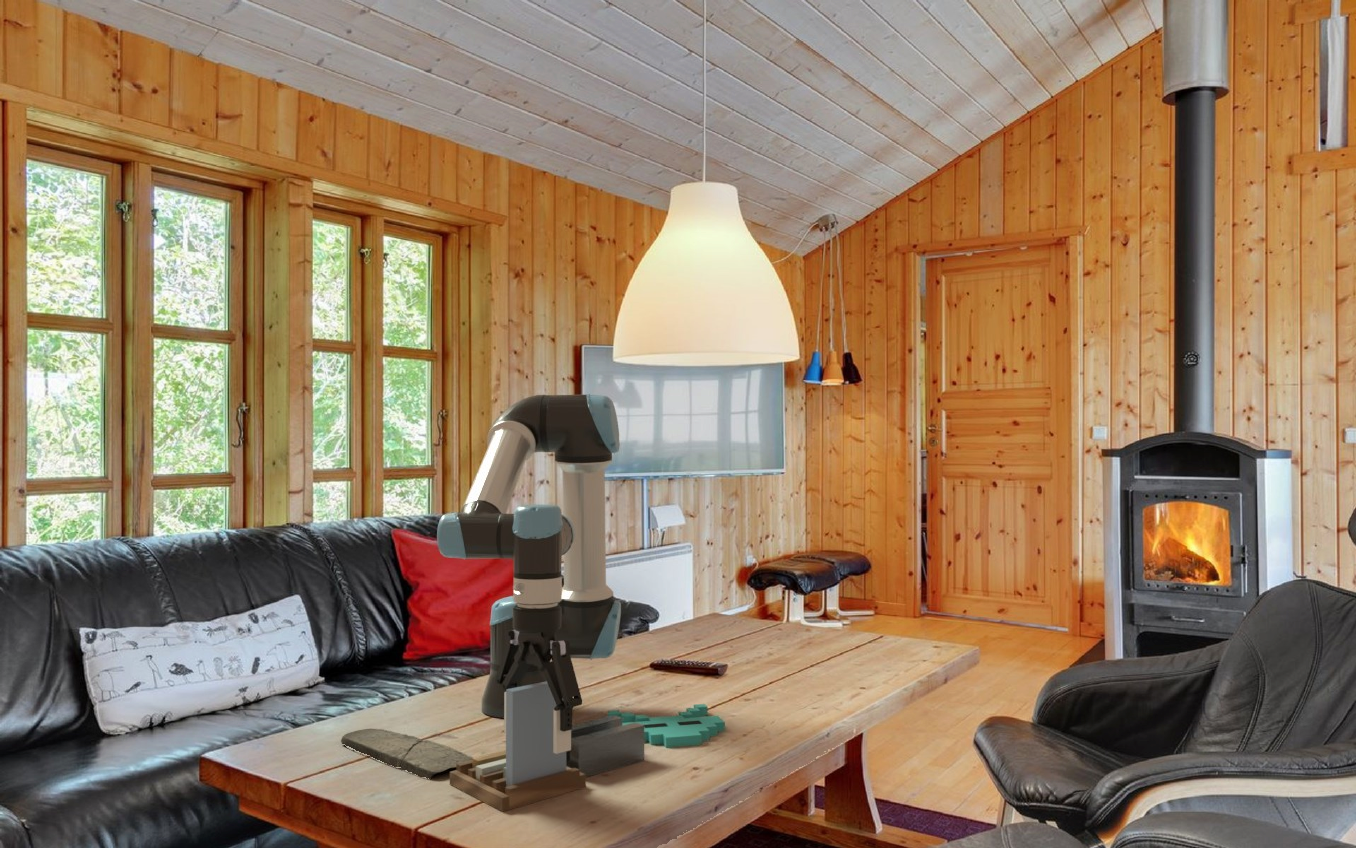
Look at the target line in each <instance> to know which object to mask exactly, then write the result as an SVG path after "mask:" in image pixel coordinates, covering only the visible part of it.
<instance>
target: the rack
mask: <svg viewBox="0 0 1356 848" xmlns="http://www.w3.org/2000/svg"><path fill="white" fill-rule="evenodd" d="M455 768H456V769H455V770H452V771H449V785H450V784H451V785H450V786H452V787H454V788H456V787H457V788H456V789H457V790H460V791H461V790H462V791H461V792H463V791H464V793H466V794H468V795H469V796H471V797H473V796H474V797H473V798H475V799H478V800H479V801H481V802H483V803H484V804H487V805H489V806H491V807H493V808H494V809H496V810H498V811H500V812H507V811H509V810H513V809H516V808H519V807H523V806H526V805H530V804H533V803H537V802H540V801H543V800H547V799H550V798H554V797H557V796H561V795H563V794H567V793H570V792H573V791H577V790H580V789H583V788H586V786H587V785H586V784H587V783H586V781H587V780H586V779H587V777H586V774H584V773H581V772H580V770H579V769H577V768H573V769H572V768H569V767H567V766H566V771H562V772H558V773H555V774H551V775H547V776H544V777H540V778H537V779H533V780H529V781H526V782H522V783H519V784H515V785H511V786H508V787H506V778H503V769H502V770H498V771H494V772H490V773H486V774H482V775H480V781H478V780H476V768H472V760H470V761H466V762H462V763H458V764H457V766H456V767H455Z"/></svg>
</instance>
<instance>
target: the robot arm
mask: <svg viewBox="0 0 1356 848" xmlns="http://www.w3.org/2000/svg"><path fill="white" fill-rule="evenodd" d="M614 404H615V403H614V402H613V401H612V399H611V398H610V397H609V396H607V395H601V394H600V395H599V394H591V393H588V394H548V395H547V394H535V395H531V396H527V397H525V398H522V399H521V400H519V401H517V402H515V403H513V404H512V405H510V406H509V407H507V408H506V409H505V410H503V412H502V413H501V414H500V415H498V417H497V418H495V420H494V422H492V425H491V426H490V429H489V431H488V433H487V437H486V445H487V448H486V451H485V453H484V456H483V458H482V460H481V463H480V466H479V467H478V470H477V472H476V475H475V477H474V479H473V482H472V484H471V486H470V489H469V491H468V492H467V493H468V494H466V498H465V499H464V502H463V504H462V508H461V510H460V512H458V511H455V512H452V513H445V514H443V515H442V516H441V517H440V518H439V522H438V524H437V529H436V531H437V532H436V542H437V547H438V551H439V552H440V554H441V555H442V556H443V557H445V558H449V559H451V558H452V559H462V560H466V559H467V560H469V559H470V560H472V559H473V560H479V559H480V560H481V559H483V560H484V559H489V560H490V559H491V560H493V559H505V560H507V559H509V560H511V559H512V561H513V563H512V564H513V575H512V576H513V586H512V590H513V591H512V592H513V595H510V596H507V597H502V598H500V599H498V600H496V601H495V602H494V603H493V604H492V605H491V612H490V621H489V626H490V668H489V669H490V672H489V676H488V678H487V682H486V685H485V688H484V692H483V695H482V698H481V711H482V713H483V714H485V715H487V716H490V717H494V718H500V719H501V718H503V722H504V723H503V725H504V726H503V728H504V729H503V731H504V732H503V733H504V734H505V735H506V689H511V688H516V687H521V686H526V685H531V684H536V683H541V682H546V681H547V683H548V686H549V688H550V690H551V693H552V695H553V698H554V700H555V702H556V705H557V706H556V707H555V708H554V730H553V753H556V754H558V753H561V752H565V751H569V750H571V730H572V725H573V709H574V708H575V707H577V706H581V705H582V704H583V699H582V695H581V692H580V691H581V690H580V686H579V684H578V680H577V676H576V671H575V668H574V665H573V662H572V659H580V660H582V659H585V660H587V659H588V660H590V661H591V660H593V659H607V658H610V657H611V656H612V655H613V654H614V653H615V650H616V646H617V641H618V635H619V630H620V623H621V614H622V603H621V602H620V601H618V600H616V599H615V600H614V591H613V590H612V589H611V588H610V587H609V586H608V585H607V573H606V572H607V563H606V557H607V556H606V488H605V487H606V486H605V484H606V478H605V470H606V469H607V467H608V466H609V465H610V464H611V462H612V461H613V454H615V453H618V452H619V450H620V447H621V446H620V429H619V422H618V417H617V412H616V408H615V405H614ZM534 453H554V463H555V464H557V466H558V467H560V469H561V470H562V508H561V507H560V506H558V505H555V504H525V505H524V504H523V505H522V504H521V505H519V506H517V507H515V509H514V512H513V513H507V512H508V508H509V506H510V503H511V501H512V499H513V496H514V493H515V491H516V487H517V485H518V482H519V479H520V476H521V474H522V471H523V468H524V465H525V463H526V461H528V460H530V458H531V457H532V456H533V455H534ZM562 556H563V557H562ZM562 558H563V559H562ZM562 560H563V576H562ZM562 577H563V579H562ZM562 580H563V581H562ZM562 582H563V583H562ZM562 698H563V700H562Z"/></svg>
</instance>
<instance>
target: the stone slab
mask: <svg viewBox="0 0 1356 848" xmlns="http://www.w3.org/2000/svg"><path fill="white" fill-rule="evenodd" d="M340 742H341V745H342V744H345V745H346V746H349V747H351V748H353V749H355V750H356V751H359V752H361V753H364V754H367V755H370V756H371V757H373V758H375V759H377V760H380V761H382V762H384V763H387V764H389V765H392V766H394V767H401V768H400V770H401V769H402V770H401V771H403V770H407V771H408V772H412V773H414V774H416V775H418V776H420V777H419V778H421V777H426V778H429V779H432V777H434V775H436V774H438V773H441V772H444V771H446V770H450V769H455V768H456V766H457V764H458V763H462V762H466V761H470V760H472V758H474V757H472V756H470V755H468V754H466V753H463V752H461V751H458V750H457V749H454V748H453V747H450V746H449V745H448V746H447V745H444V744H443V743H438V742H436V741H433V740H428V739H424V740H423V739H421V738H419V737H417V736H413V735H408V734H405V733H400V732H395V731H391V730H385V729H382V728H381V729H380V728H378V729H377V728H365V729H359V730H355V731H350V732H347V733H346V734H344V735H343V736H342V737H341V739H340ZM389 765H388V766H389ZM392 766H391V767H392ZM394 767H393V768H394ZM408 772H407V773H408ZM416 775H415V776H416ZM418 776H417V777H418ZM429 779H428V780H429Z"/></svg>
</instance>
